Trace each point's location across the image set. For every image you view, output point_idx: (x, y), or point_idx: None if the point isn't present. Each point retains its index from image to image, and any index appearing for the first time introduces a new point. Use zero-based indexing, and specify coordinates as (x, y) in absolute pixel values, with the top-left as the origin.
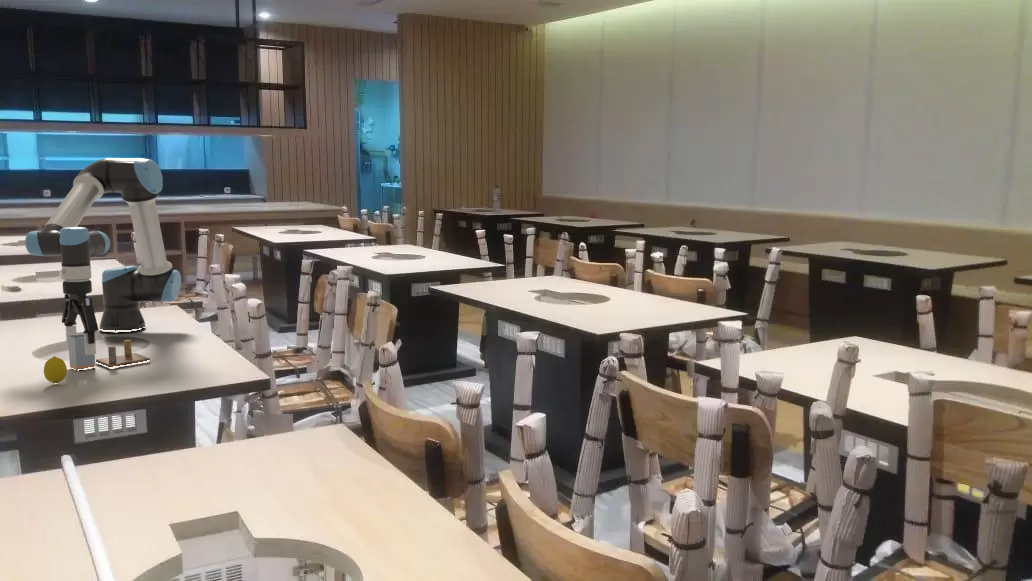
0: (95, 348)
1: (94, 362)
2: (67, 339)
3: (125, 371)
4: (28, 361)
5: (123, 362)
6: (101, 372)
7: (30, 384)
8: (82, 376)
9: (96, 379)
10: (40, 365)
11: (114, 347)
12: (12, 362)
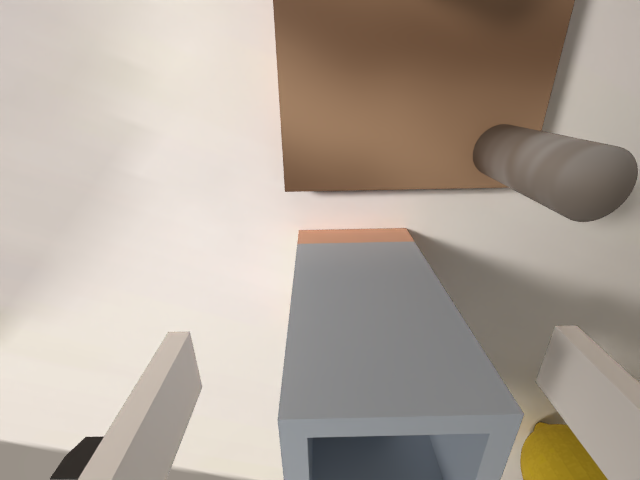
0: (614, 362)
1: (416, 249)
2: (174, 455)
3: (633, 121)
4: (10, 390)
5: (549, 78)
6: (517, 236)
7: None
8: (507, 326)
9: (624, 303)
10: (135, 379)
11: (636, 171)
12: (4, 431)
